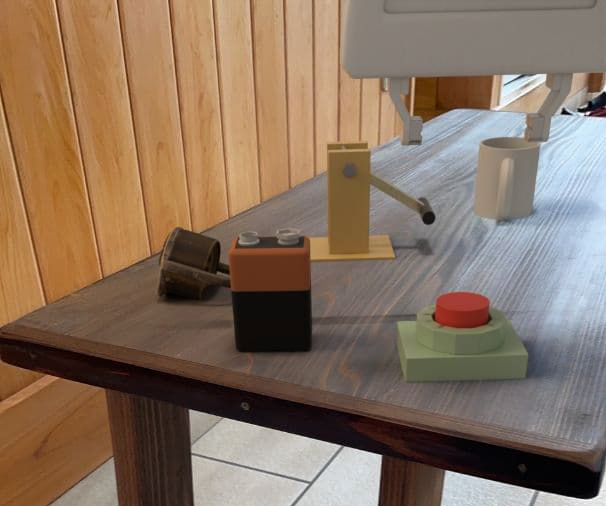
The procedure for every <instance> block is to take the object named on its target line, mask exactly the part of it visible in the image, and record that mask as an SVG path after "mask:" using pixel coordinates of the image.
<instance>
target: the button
mask: <svg viewBox="0 0 606 506" xmlns="http://www.w3.org/2000/svg"><path fill="white" fill-rule="evenodd" d="M435 304H436V311H435V322H437V323H439V324H440V325H442V326H447V327H453V328H459V329H460V328H476V327H480V326H483V325H487V323H488V314H489V306H491V305H490V304H491V301H490V299H489V298H488V297H487V296H485V295H483V294H479V293H475V292H469V291H454V292H453V291H452V292H447V293H443V294H441V295H439V296H438V297H437V298H436V300H435Z"/></svg>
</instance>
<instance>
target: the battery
mask: <svg viewBox="0 0 606 506" xmlns="http://www.w3.org/2000/svg"><path fill="white" fill-rule="evenodd" d="M300 232H301V231H300V229H297V228H290V227H288V228H283V229H276V235H270V236H269V235H264V236H263V235H262V236H261V235H260V236H258V232H256V231H244V232H240V233H239V236H237V237H235V238H234V239H233V240H232V243H231V245H230V249H229V251H228V265H229V268H230V275H229V278H230V281H231V288H230V291H231V304H232V305H231V306H232V317H233V330H234V331H233V332H234V342H235V343H234V344H235V349H236V350H237V351H239V352H245V353H246V352H307V351H309V350H310V349H311V347H312V337H313V314H312V312H313V309H312V267H311V266H312V264H311V263H312V262H311V259H310V239H309V238H310V237H309V236H307V235H301V233H300Z"/></svg>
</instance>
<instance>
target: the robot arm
mask: <svg viewBox="0 0 606 506" xmlns="http://www.w3.org/2000/svg"><path fill="white" fill-rule="evenodd" d="M339 45H340V46H339V64H340V67H341V68H342V70H343V71H344V72H345V74H347V76H348V77H349V78H350V79H353V80H365V79H366V80H369V79H371V80H372V79H387V82H386V83H387V90H386V91H387V93H388V96H389V98H390V100H391V102H392V105H393V106H394V108H395V110H396V112H397V114H398V116H399V118H400V133H399V136H400V138H399V139H400V141H399V142H400V144H401V147H405V146H422V144H423V143H422V142H423V136H422V134H421V133H422V131H423V128H424V127H423V126H424V120H423V118H422V116H421V115H411V114H410V112H409V110H408V108H407V106H406V104H405V102H404V100H403V98H402V96H407V95H409V93H410V92H409V91H410V78H441V77H443V78H444V77H483V76H484V77H485V76H486V77H487V76H518V75H519V76H520V75H521V76H522V75H523V76H524V75H526V76H527V75H546V76H545V87H546V88H548V89H549V90H550V91H549V93H548V94H547V96H546V98H545V99H544V101H543V102H542V104H541V105H540V107H539V109H538V110H537V112H528V113H526V117H525V124H526V127H525V128H524V135H523V136H524V137H523V138H525V140H526V141H527V142H540V143H547V142H548V141H549V138H550V132H551V131H550V130H551V123H552V117H554V116H555V115H556V114H557V112H558V111H559V109H560V108H561V106H562V105H563V103H564V102H565V101H566V99H567V97H568V96H569V94H570V93H571V91H572V85H573V78H574V74H600V73H601V74H602V73H603V74H604V73H606V0H344V2H343V10H342V19H341V28H340V44H339ZM401 95H402V96H401Z"/></svg>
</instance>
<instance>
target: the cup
mask: <svg viewBox="0 0 606 506" xmlns="http://www.w3.org/2000/svg"><path fill="white" fill-rule="evenodd" d="M541 144H542V142H527V141H526V140H525V138H524V137H521V136H495V137H489V138H484V139H481V140H480V142H479V144H478V145H479V146H478V156H477V158H478V159H477V166H476V167H477V170H476V180H475V190H474V191H475V192H474V203H473V213H474V214H475V215H476V216H478V217H480V218H483V219H489V220H497V221H498V220H499V221H513V220H520V219H525V218H528V217H530V216H531V215H532V213H533V207H534V200H535V192H536V183H537V175H538V168H539V161H540V152H541Z"/></svg>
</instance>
